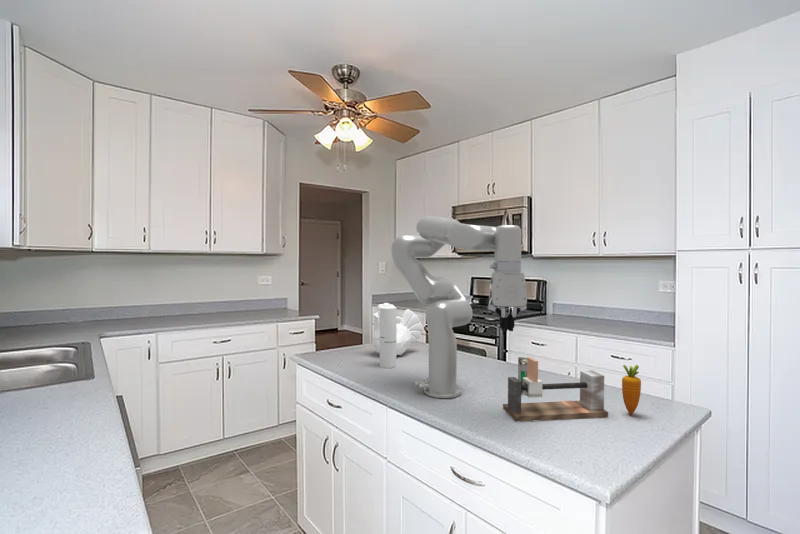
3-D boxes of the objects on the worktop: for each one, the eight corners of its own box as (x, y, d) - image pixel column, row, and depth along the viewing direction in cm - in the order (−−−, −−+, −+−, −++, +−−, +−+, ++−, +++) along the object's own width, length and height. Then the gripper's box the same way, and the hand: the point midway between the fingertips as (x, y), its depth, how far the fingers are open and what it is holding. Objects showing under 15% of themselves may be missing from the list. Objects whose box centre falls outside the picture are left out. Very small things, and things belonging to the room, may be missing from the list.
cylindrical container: (386, 362, 181) (386, 306, 181) (399, 365, 177) (399, 307, 176) (376, 366, 175) (376, 307, 175) (389, 369, 171) (389, 309, 171)
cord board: (516, 421, 117) (516, 381, 116) (503, 408, 126) (503, 371, 126) (608, 417, 120) (608, 377, 120) (588, 404, 130) (588, 368, 130)
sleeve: (529, 397, 120) (529, 361, 120) (522, 392, 124) (522, 357, 124) (542, 397, 120) (542, 361, 120) (535, 392, 125) (535, 357, 125)
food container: (539, 395, 139) (540, 366, 138) (520, 394, 140) (521, 365, 140) (535, 384, 151) (535, 357, 151) (517, 383, 152) (518, 356, 152)
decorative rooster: (374, 359, 187) (375, 305, 186) (370, 352, 202) (370, 301, 201) (428, 357, 192) (428, 304, 191) (419, 349, 207) (419, 300, 207)
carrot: (617, 412, 124) (618, 363, 123) (629, 410, 125) (630, 361, 125) (632, 418, 119) (633, 367, 119) (644, 416, 121) (645, 365, 121)
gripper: (486, 268, 116) (485, 333, 116) (538, 268, 118) (537, 332, 118) (477, 267, 123) (477, 328, 124) (527, 267, 125) (526, 327, 126)
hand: (506, 330), depth 121 cm, fingers closed
